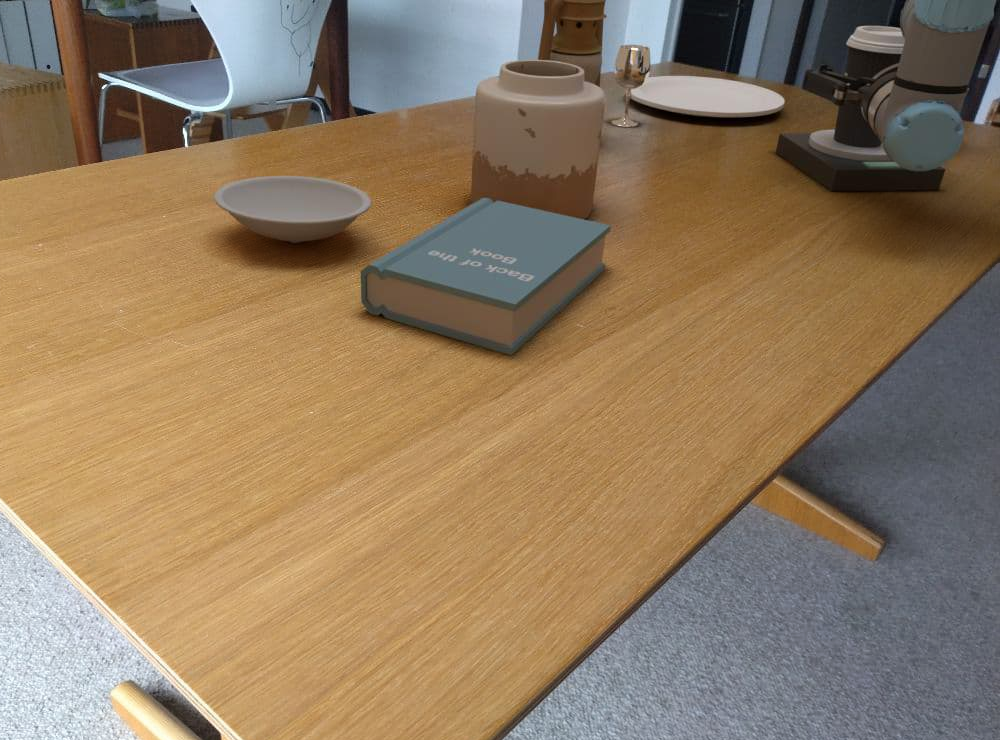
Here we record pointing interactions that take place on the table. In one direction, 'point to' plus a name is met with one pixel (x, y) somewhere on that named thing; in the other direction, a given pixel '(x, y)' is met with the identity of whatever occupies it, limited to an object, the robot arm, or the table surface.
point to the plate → (707, 97)
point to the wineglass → (631, 74)
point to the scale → (851, 165)
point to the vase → (538, 137)
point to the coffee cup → (873, 58)
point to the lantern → (574, 35)
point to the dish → (292, 206)
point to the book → (487, 273)
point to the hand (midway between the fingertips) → (871, 73)
